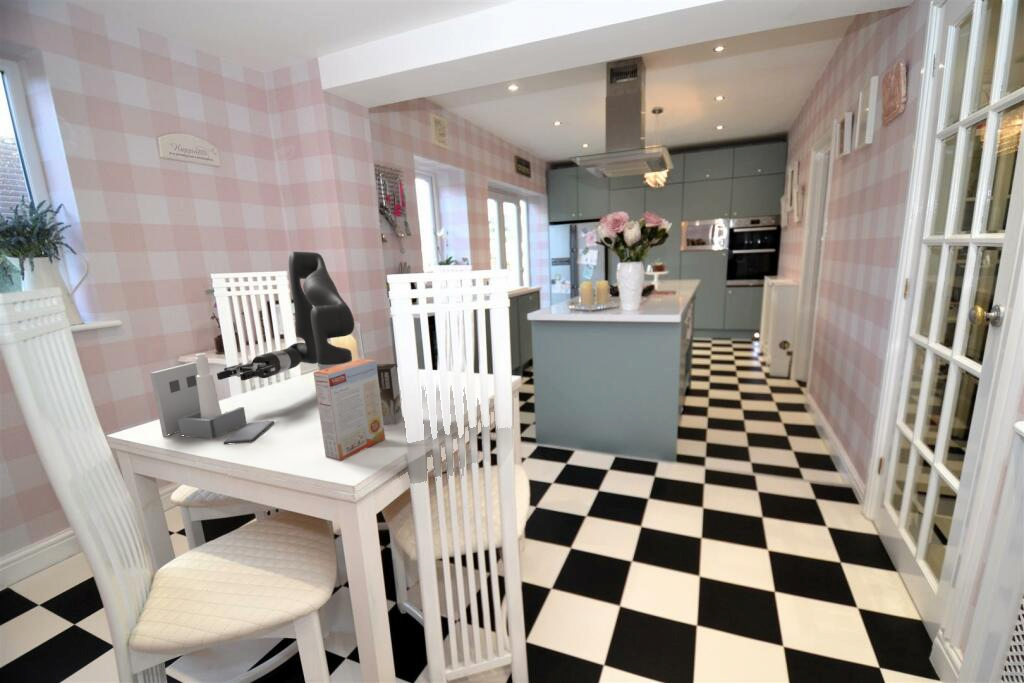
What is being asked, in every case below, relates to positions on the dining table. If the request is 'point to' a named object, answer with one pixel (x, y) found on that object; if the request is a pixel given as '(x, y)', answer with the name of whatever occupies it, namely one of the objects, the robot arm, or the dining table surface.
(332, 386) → the cracker box
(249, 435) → the phone
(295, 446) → the dining table surface
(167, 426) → the outlet dock
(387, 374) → the coffee box
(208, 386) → the cosmetic bottle
